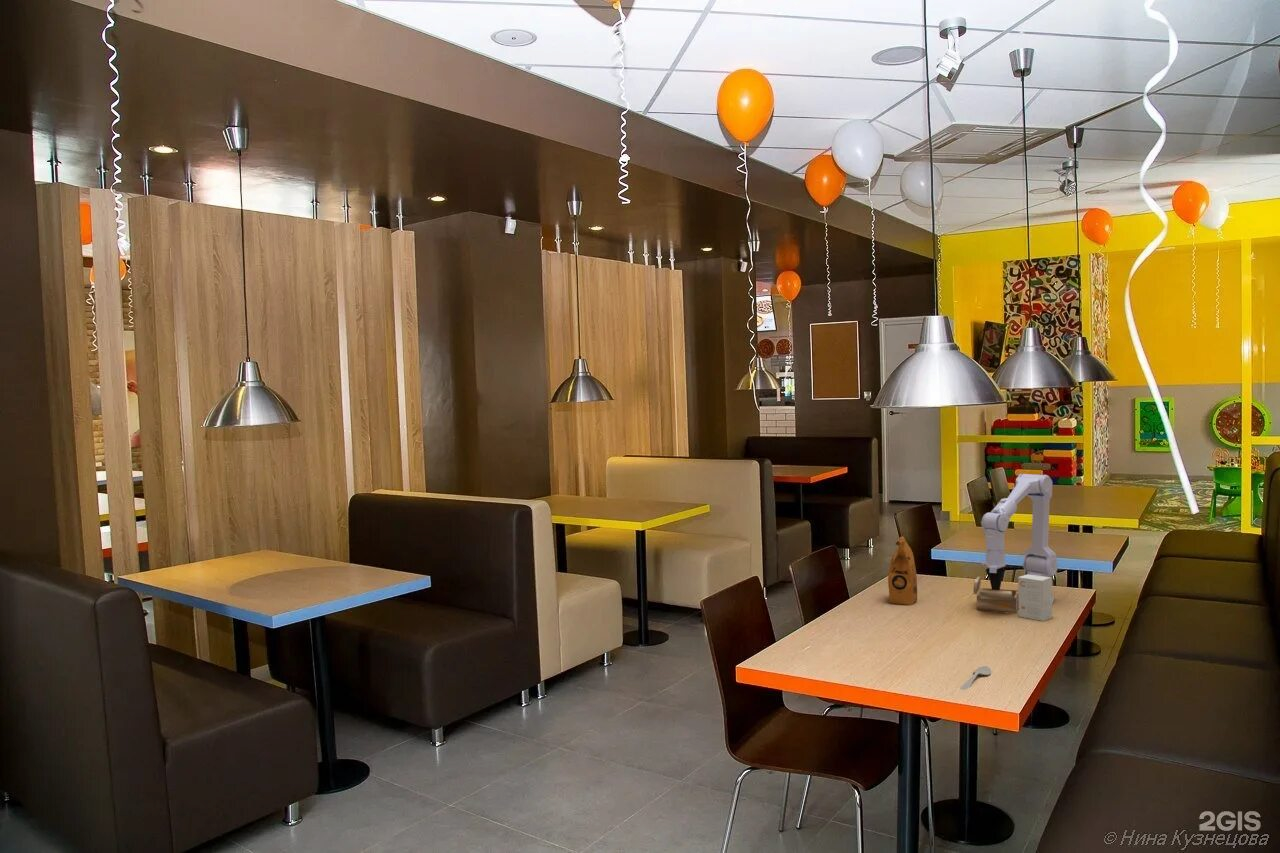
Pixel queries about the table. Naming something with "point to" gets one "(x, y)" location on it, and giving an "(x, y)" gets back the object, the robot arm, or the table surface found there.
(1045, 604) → the small box
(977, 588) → the side flap
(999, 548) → the robot arm
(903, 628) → the table surface
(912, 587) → the coffee package
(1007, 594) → the front flap
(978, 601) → the carton
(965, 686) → the spoon
